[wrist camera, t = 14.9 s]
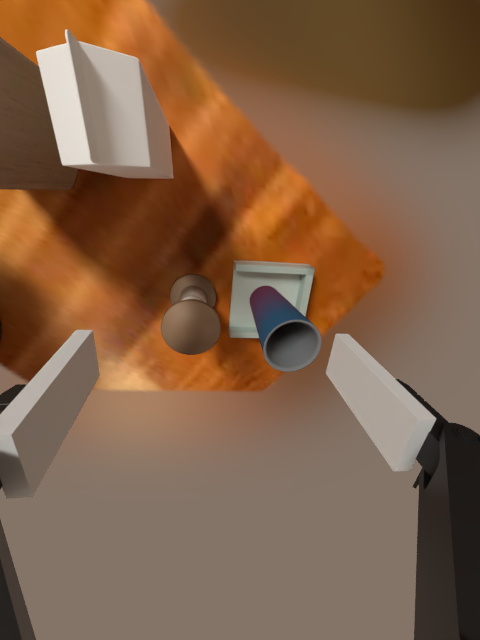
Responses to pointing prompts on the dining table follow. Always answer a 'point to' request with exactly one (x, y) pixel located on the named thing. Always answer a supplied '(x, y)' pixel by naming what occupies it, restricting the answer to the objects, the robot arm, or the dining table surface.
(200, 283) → the doorknob
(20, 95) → the wooden block
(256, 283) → the square tray
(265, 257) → the dining table surface
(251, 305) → the cup
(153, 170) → the milk
